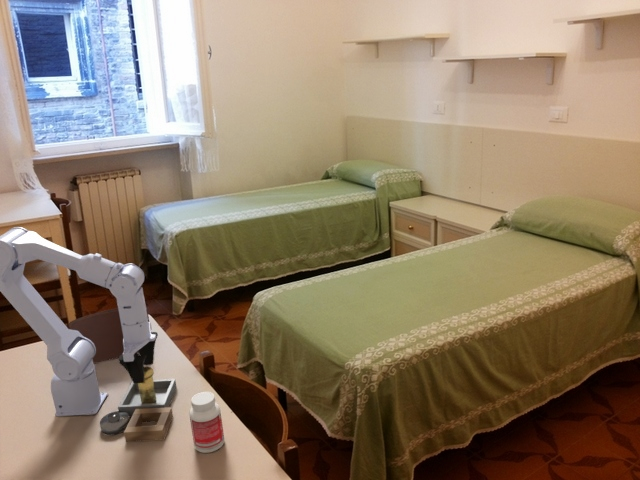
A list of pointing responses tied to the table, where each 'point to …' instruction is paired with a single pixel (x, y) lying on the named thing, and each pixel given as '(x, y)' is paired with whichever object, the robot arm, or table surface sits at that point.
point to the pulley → (114, 422)
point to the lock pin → (147, 387)
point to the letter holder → (102, 333)
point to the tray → (162, 390)
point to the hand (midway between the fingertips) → (143, 372)
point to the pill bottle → (206, 422)
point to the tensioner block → (148, 432)
